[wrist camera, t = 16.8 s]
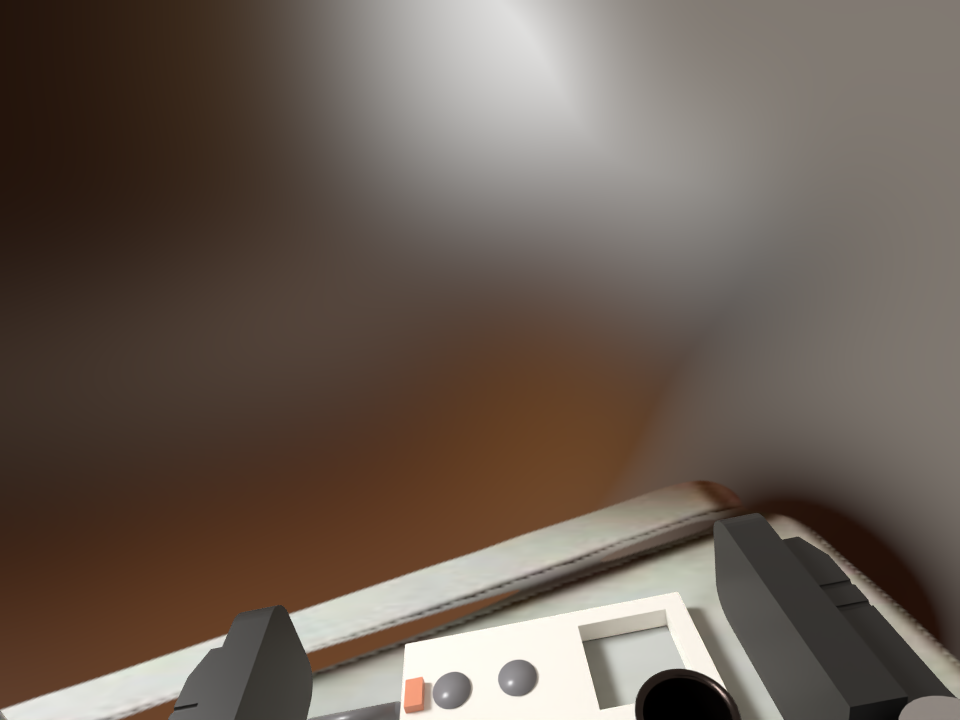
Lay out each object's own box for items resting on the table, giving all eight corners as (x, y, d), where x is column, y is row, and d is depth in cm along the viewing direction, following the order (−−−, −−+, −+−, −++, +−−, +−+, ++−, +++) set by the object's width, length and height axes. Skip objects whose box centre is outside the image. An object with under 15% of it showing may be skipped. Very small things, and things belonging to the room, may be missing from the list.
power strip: (289, 807, 35) (277, 785, 34) (319, 677, 44) (310, 656, 43) (735, 724, 35) (734, 699, 34) (679, 607, 43) (677, 585, 42)
